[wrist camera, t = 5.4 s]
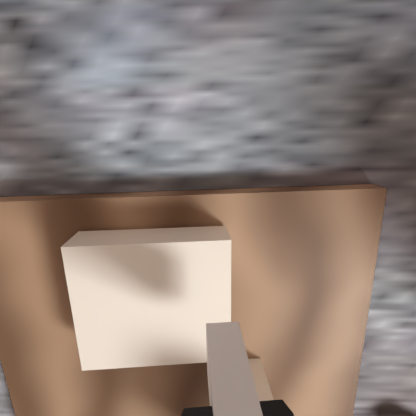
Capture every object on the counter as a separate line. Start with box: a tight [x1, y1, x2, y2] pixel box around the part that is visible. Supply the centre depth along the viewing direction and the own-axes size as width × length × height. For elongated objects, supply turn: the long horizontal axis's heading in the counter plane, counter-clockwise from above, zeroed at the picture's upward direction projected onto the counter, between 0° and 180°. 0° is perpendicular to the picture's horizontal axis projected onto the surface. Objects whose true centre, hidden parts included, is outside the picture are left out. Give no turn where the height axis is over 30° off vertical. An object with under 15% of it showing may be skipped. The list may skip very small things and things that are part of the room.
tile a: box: [61, 226, 231, 371], centre depth 17 cm, size 3×8×9 cm
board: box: [0, 184, 387, 416], centre depth 20 cm, size 26×22×2 cm
